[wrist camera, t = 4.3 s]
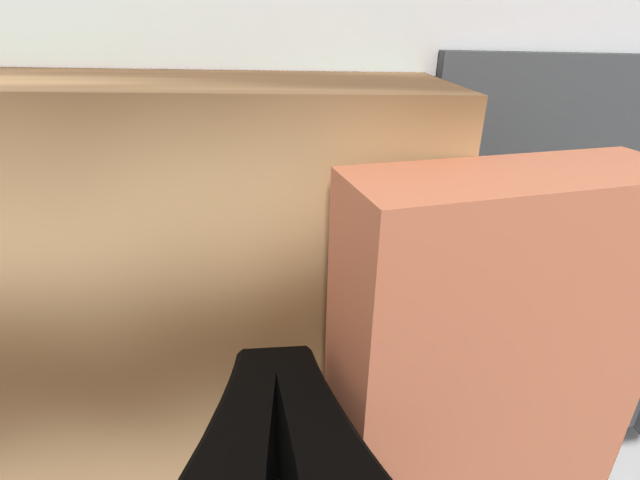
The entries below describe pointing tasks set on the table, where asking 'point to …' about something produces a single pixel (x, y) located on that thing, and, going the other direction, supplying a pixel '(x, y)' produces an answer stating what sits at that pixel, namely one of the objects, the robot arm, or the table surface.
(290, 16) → the table surface
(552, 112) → the mat
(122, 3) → the table surface
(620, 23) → the table surface
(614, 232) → the block
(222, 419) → the robot arm
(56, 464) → the deck
